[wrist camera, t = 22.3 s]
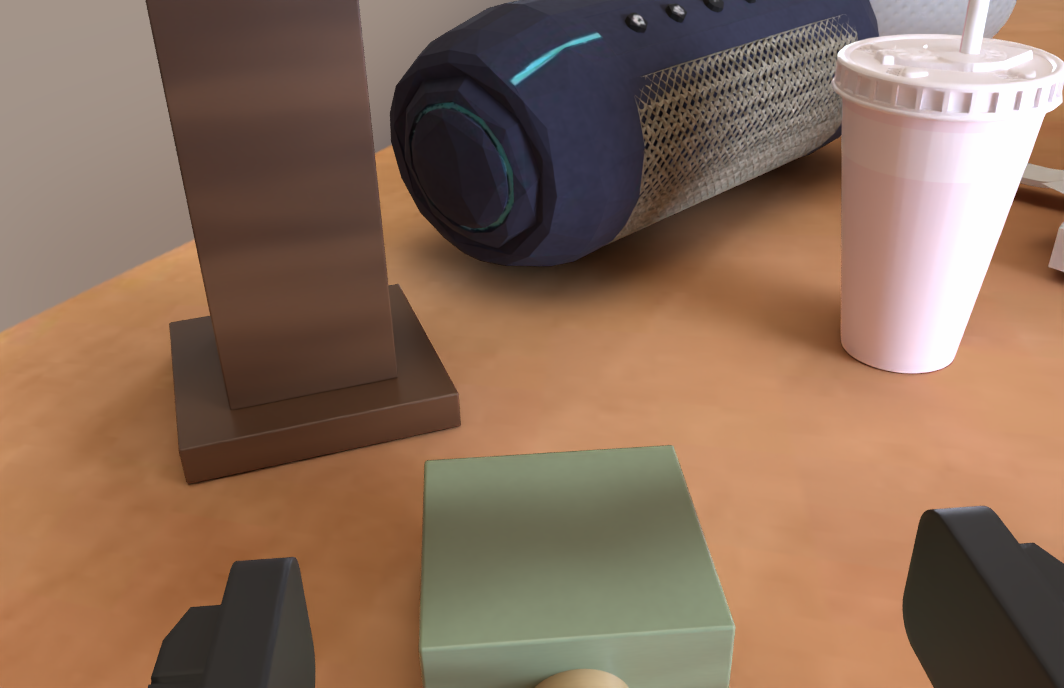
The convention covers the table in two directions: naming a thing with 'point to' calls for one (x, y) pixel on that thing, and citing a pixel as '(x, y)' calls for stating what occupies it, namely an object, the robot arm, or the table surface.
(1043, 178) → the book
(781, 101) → the portable speaker
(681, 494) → the green wooden mallet
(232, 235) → the stand
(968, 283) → the smoothie
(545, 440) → the table surface
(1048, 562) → the robot arm
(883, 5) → the cereal bowl
